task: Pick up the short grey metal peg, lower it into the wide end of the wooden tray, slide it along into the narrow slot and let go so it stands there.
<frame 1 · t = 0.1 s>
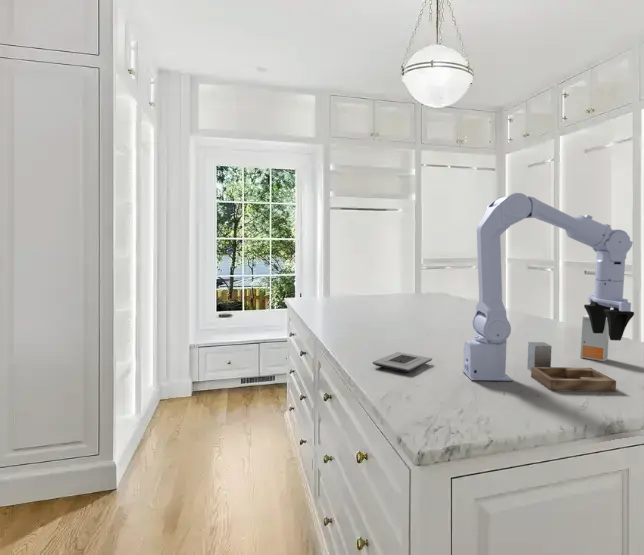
hand: (606, 336, 105), 10 cm above the worktop, fingers open, 7 cm apart
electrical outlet: (402, 368, 116), on the worktop
skincare box: (593, 359, 123), on the worktop
wooden tray: (571, 383, 101), on the worktop
metal peg: (538, 371, 111), on the worktop
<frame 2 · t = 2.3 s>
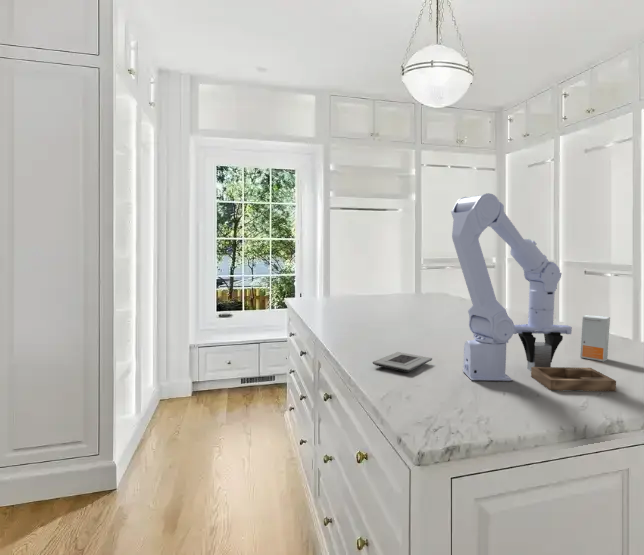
hand: (539, 361, 111), 2 cm above the worktop, fingers closed on metal peg, 4 cm apart
metal peg: (538, 370, 111), on the worktop, touching gripper
everything else where it was.
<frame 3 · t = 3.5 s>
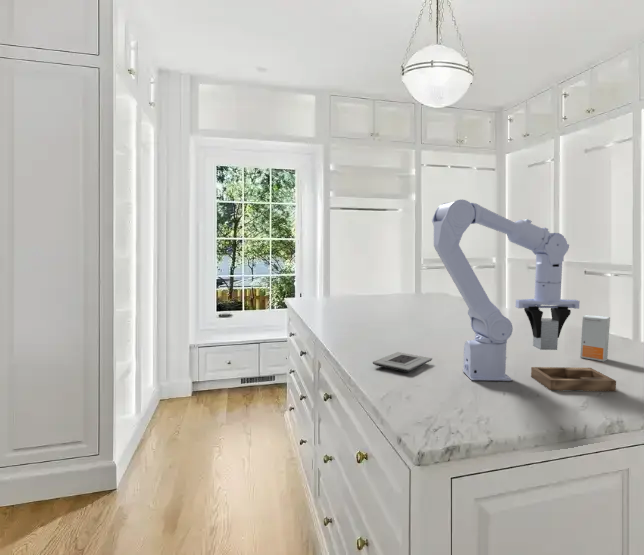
hand: (545, 337, 107), 9 cm above the worktop, fingers closed on metal peg, 4 cm apart
metal peg: (544, 347, 108), point 7 cm above the worktop, touching gripper
everything else where it was.
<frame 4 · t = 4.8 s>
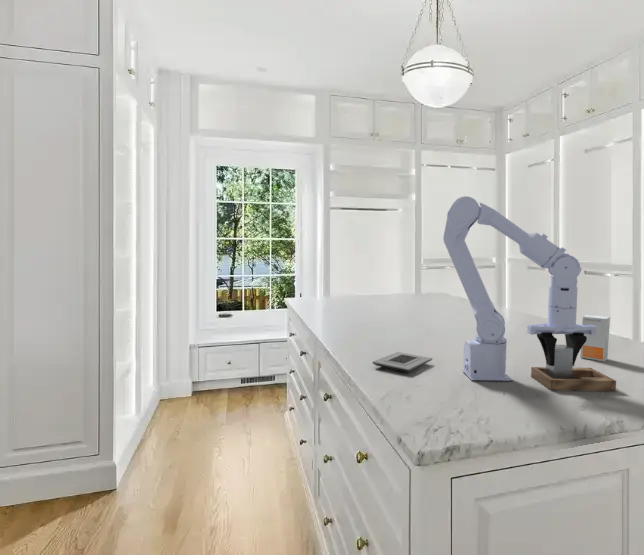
hand: (559, 364, 101), 4 cm above the worktop, fingers closed on metal peg, 4 cm apart
metal peg: (558, 376, 102), point 2 cm above the worktop, touching gripper
everything else where it was.
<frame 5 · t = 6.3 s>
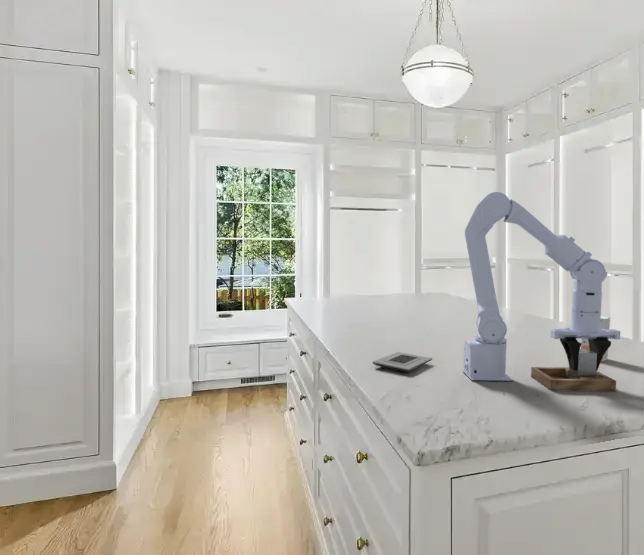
hand: (583, 369, 101), 3 cm above the worktop, fingers closed on metal peg, 4 cm apart
metal peg: (581, 380, 101), point 1 cm above the worktop, touching gripper
everything else where it was.
when the fingers open (3 cm above the worktop, at t = 7.7 s): metal peg stays where it is, resting on wooden tray.
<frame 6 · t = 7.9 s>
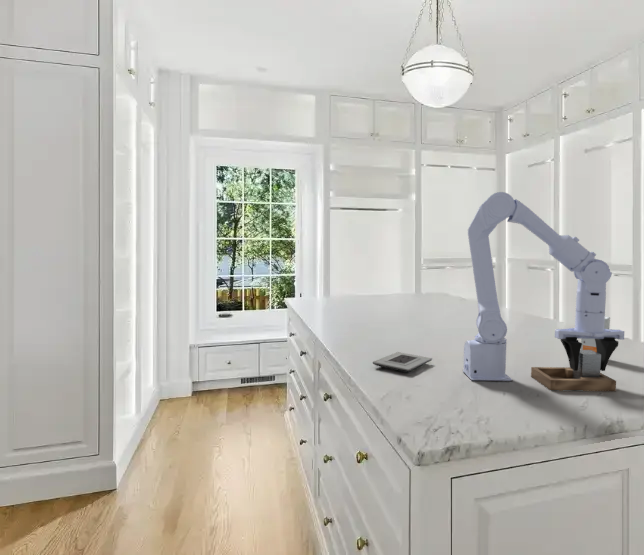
hand: (587, 369, 101), 3 cm above the worktop, fingers open, 5 cm apart
metal peg: (585, 381, 101), resting on wooden tray
everything else where it was.
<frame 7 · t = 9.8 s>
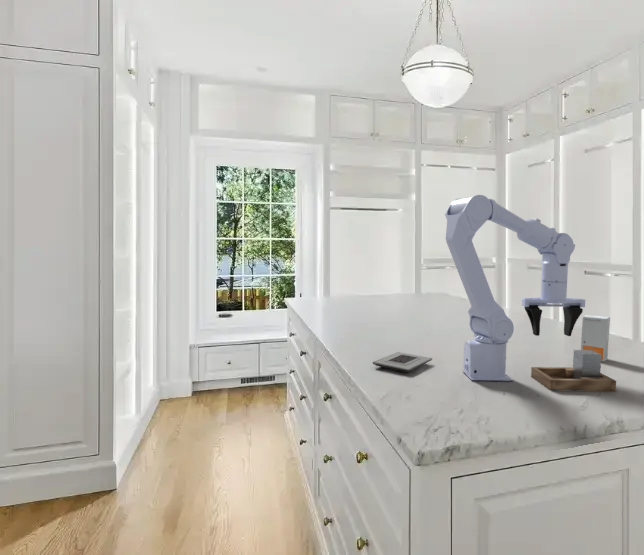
hand: (551, 335, 110), 9 cm above the worktop, fingers open, 7 cm apart
nothing on the worktop moved.
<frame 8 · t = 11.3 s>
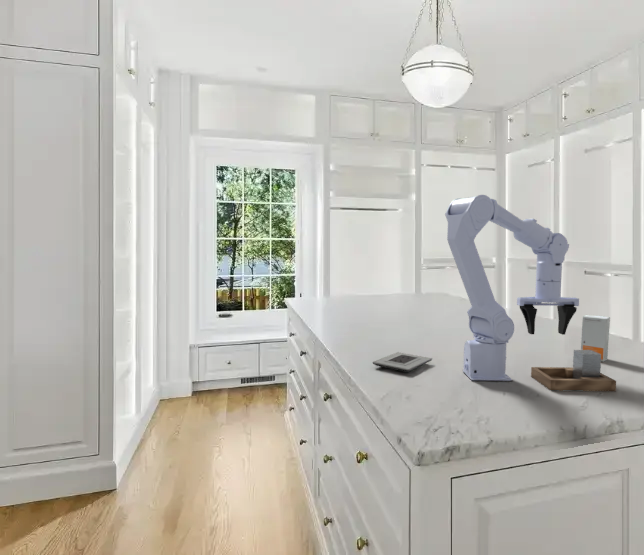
hand: (546, 333, 111), 9 cm above the worktop, fingers open, 7 cm apart
nothing on the worktop moved.
at the end: metal peg 0.4 cm from the target spot on the wooden tray, point 0.4 cm above the wooden tray's base; metal peg tilted 0°; the gripper is holding nothing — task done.
